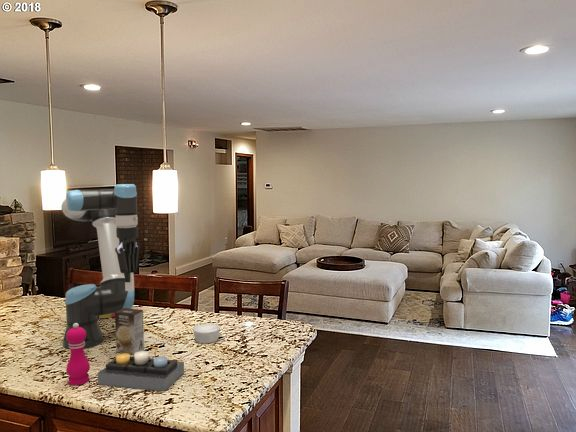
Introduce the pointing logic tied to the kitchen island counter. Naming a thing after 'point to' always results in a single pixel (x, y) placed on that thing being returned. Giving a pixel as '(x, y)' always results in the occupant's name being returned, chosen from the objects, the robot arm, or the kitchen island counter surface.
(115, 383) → the button console
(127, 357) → the amber button
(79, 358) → the pepper mill
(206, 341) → the ramekin
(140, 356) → the cream rounded cylinder
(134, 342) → the coffee box
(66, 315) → the robot arm
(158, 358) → the blue button
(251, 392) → the kitchen island counter surface
